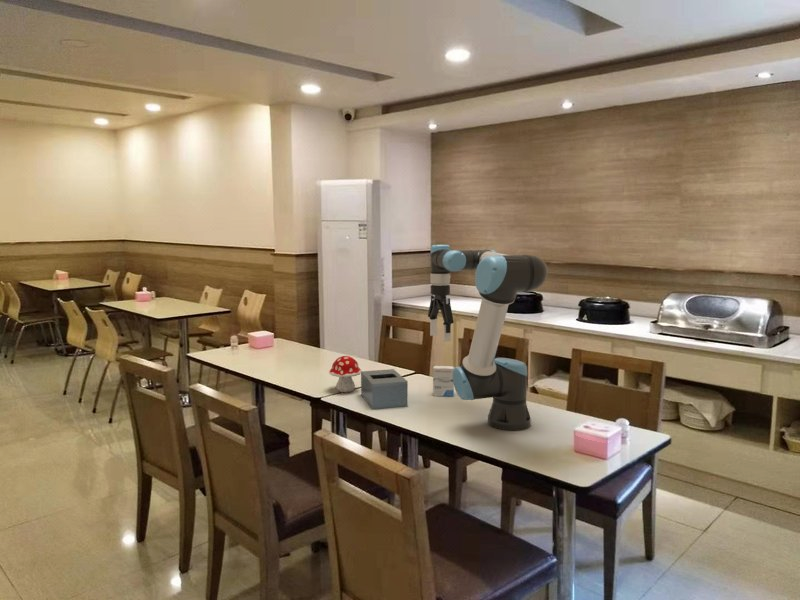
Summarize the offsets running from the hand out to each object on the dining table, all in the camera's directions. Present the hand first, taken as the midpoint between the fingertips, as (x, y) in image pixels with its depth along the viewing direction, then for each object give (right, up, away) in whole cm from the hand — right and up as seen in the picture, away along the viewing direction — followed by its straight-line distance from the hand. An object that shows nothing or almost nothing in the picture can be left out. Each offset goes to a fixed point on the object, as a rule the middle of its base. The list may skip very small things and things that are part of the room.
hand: (440, 338), depth 233 cm
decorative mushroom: (-39, -24, +19) cm, 50 cm away
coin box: (-22, -25, +6) cm, 34 cm away
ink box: (+2, -25, +14) cm, 28 cm away
